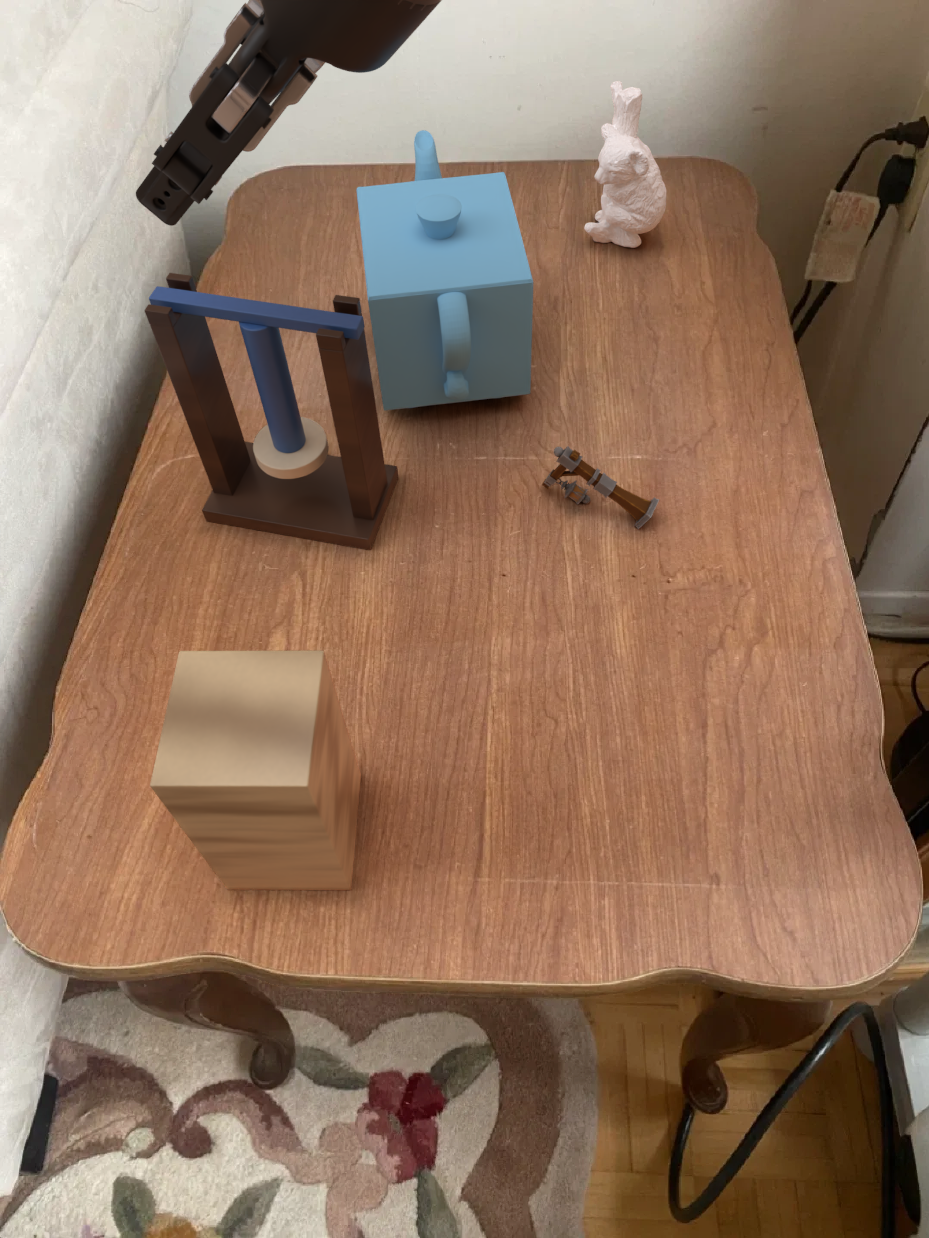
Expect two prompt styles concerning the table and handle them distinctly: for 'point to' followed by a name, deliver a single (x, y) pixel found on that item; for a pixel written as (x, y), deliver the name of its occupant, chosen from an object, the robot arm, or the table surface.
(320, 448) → the bar
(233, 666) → the riser
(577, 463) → the hanging lantern post
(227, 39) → the robot arm
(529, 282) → the teapot
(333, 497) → the stand
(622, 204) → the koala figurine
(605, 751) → the table surface
